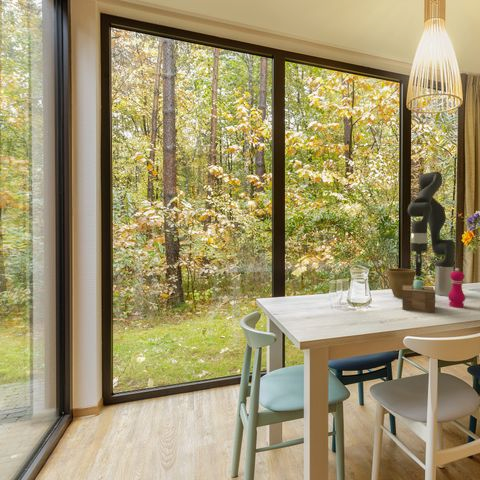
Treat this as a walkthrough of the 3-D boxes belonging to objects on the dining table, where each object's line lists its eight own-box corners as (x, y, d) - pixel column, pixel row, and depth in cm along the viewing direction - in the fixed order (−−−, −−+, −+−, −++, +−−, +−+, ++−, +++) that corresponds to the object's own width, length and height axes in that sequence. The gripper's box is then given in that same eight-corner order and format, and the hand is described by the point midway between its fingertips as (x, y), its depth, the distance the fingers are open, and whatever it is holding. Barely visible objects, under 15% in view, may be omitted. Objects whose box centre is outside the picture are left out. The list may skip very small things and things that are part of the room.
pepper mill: (467, 308, 158) (468, 269, 157) (451, 307, 160) (452, 268, 159) (460, 304, 165) (461, 267, 164) (445, 304, 167) (446, 267, 166)
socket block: (402, 303, 170) (402, 284, 169) (432, 306, 163) (432, 287, 163) (402, 309, 157) (402, 289, 157) (434, 312, 151) (435, 292, 150)
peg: (413, 296, 163) (413, 279, 162) (422, 297, 161) (422, 280, 161) (413, 298, 159) (413, 281, 159) (422, 299, 158) (422, 281, 157)
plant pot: (415, 295, 187) (416, 269, 186) (414, 301, 174) (414, 272, 173) (388, 292, 195) (388, 267, 194) (385, 297, 182) (385, 270, 181)
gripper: (410, 241, 166) (409, 273, 167) (410, 242, 155) (410, 277, 155) (426, 241, 163) (425, 274, 164) (428, 242, 151) (427, 278, 152)
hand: (418, 275), depth 160 cm, fingers closed
